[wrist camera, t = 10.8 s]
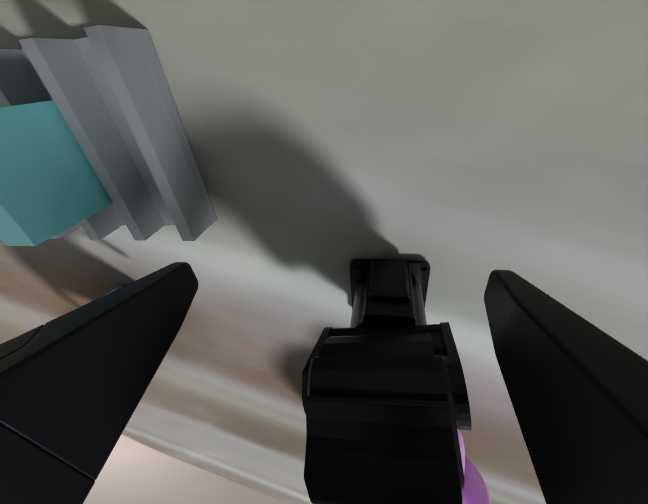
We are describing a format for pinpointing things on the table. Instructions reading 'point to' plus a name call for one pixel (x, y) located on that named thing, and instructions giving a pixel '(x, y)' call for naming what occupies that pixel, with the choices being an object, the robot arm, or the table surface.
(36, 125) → the tall teal box
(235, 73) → the table surface
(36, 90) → the dish rack
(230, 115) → the table surface
